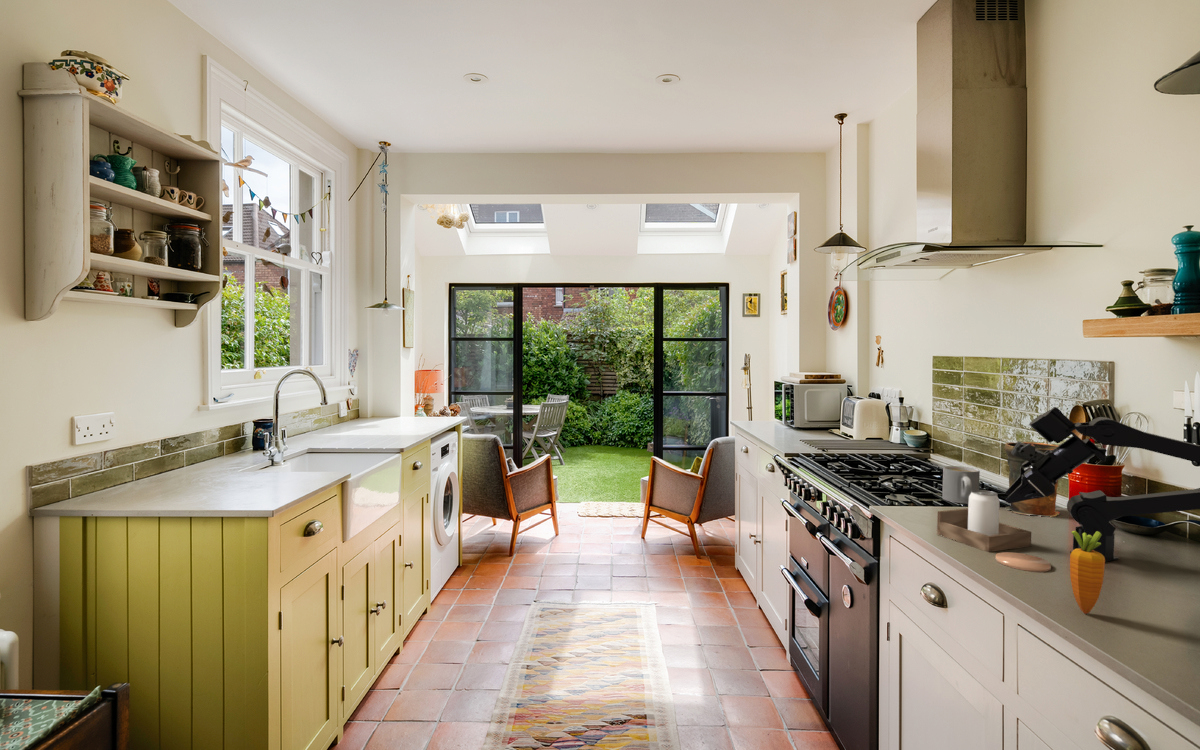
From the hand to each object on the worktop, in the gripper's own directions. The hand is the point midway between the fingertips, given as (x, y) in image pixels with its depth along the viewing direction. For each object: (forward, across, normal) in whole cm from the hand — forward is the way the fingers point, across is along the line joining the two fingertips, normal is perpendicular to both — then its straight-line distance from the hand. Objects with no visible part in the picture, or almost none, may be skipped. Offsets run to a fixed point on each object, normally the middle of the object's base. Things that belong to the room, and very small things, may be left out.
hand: (1006, 498), depth 145 cm
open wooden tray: (+11, 0, +5) cm, 12 cm away
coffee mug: (+16, -44, 0) cm, 47 cm away
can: (+11, 0, +5) cm, 12 cm away
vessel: (+3, -42, +13) cm, 44 cm away
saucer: (+6, +15, +10) cm, 19 cm away
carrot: (0, +40, +16) cm, 43 cm away
